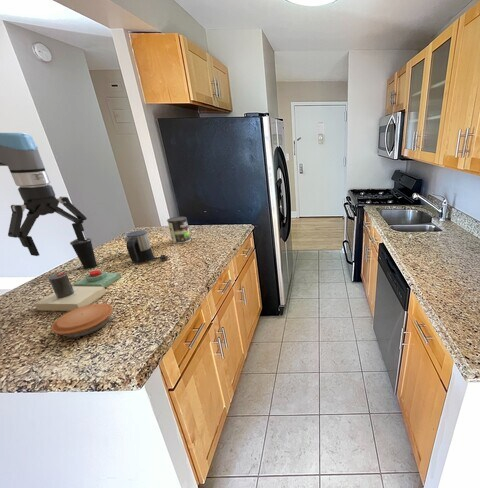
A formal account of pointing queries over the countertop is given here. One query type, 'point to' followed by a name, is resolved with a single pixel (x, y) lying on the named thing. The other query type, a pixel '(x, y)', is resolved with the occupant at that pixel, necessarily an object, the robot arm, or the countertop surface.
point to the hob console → (71, 299)
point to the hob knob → (61, 285)
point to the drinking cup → (85, 252)
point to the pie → (83, 320)
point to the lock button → (95, 273)
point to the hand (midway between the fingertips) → (60, 247)
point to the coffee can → (179, 229)
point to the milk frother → (140, 247)
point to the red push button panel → (98, 280)
